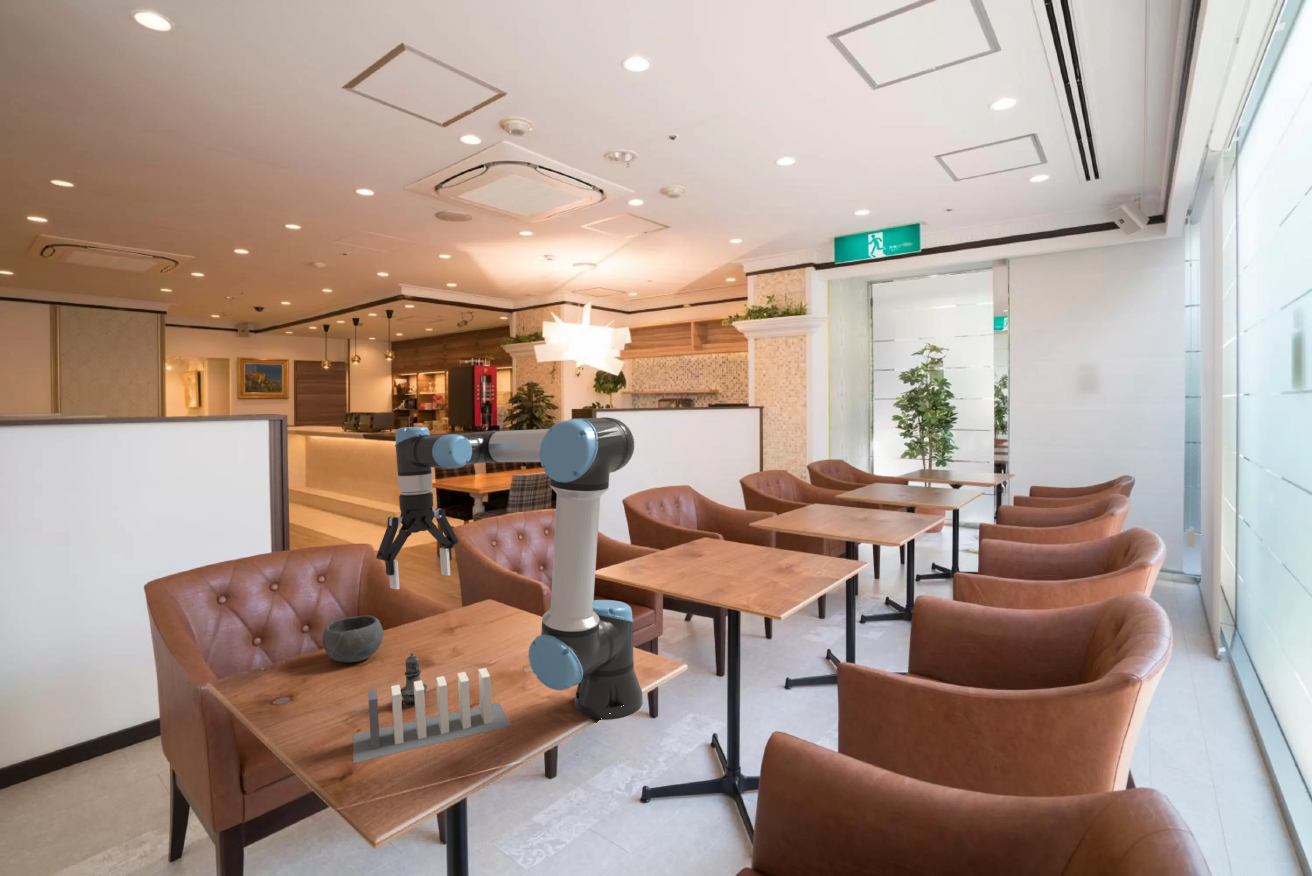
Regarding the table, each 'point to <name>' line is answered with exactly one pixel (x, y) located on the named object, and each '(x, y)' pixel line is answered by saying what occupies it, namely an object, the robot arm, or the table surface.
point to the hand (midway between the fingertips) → (421, 581)
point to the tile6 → (373, 719)
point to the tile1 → (485, 695)
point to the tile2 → (464, 700)
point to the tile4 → (420, 709)
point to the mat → (432, 732)
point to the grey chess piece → (411, 680)
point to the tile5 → (397, 714)
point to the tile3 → (442, 704)
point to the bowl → (352, 638)
